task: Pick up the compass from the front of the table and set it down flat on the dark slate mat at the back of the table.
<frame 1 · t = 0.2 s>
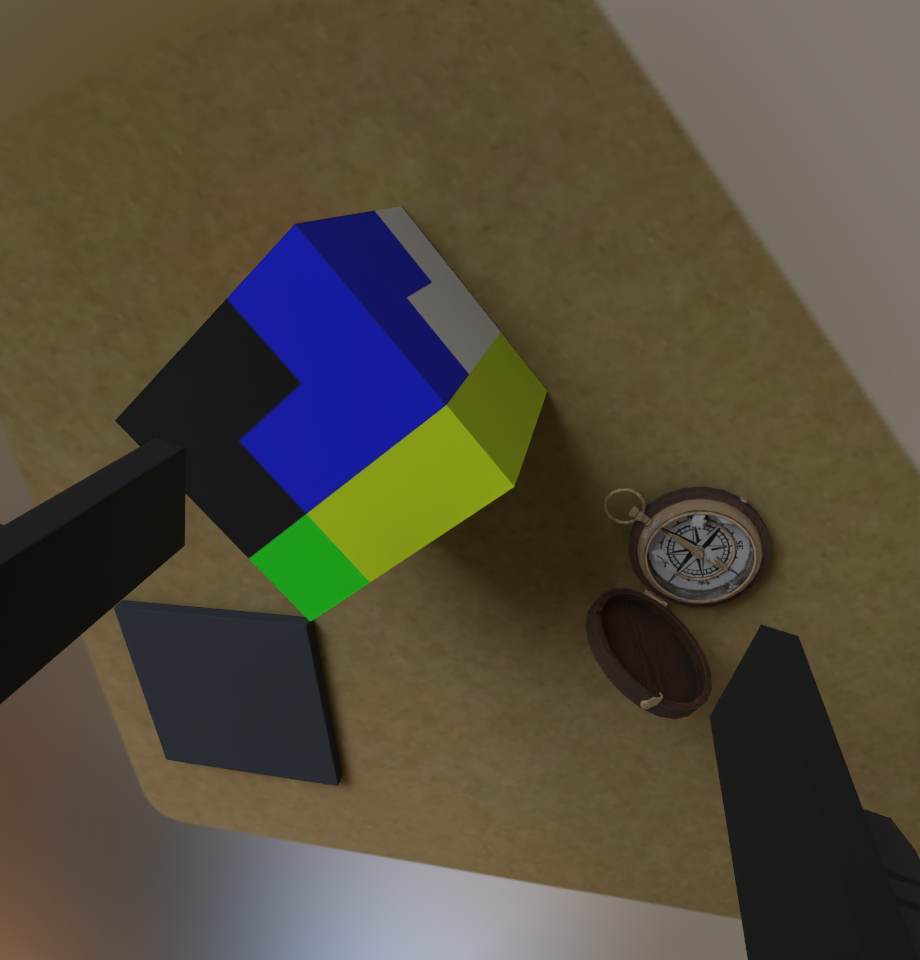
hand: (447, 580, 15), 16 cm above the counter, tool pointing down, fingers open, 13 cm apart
compass: (668, 541, 31), on the counter
mat: (235, 690, 42), on the counter
puzzle toy: (397, 368, 31), on the counter
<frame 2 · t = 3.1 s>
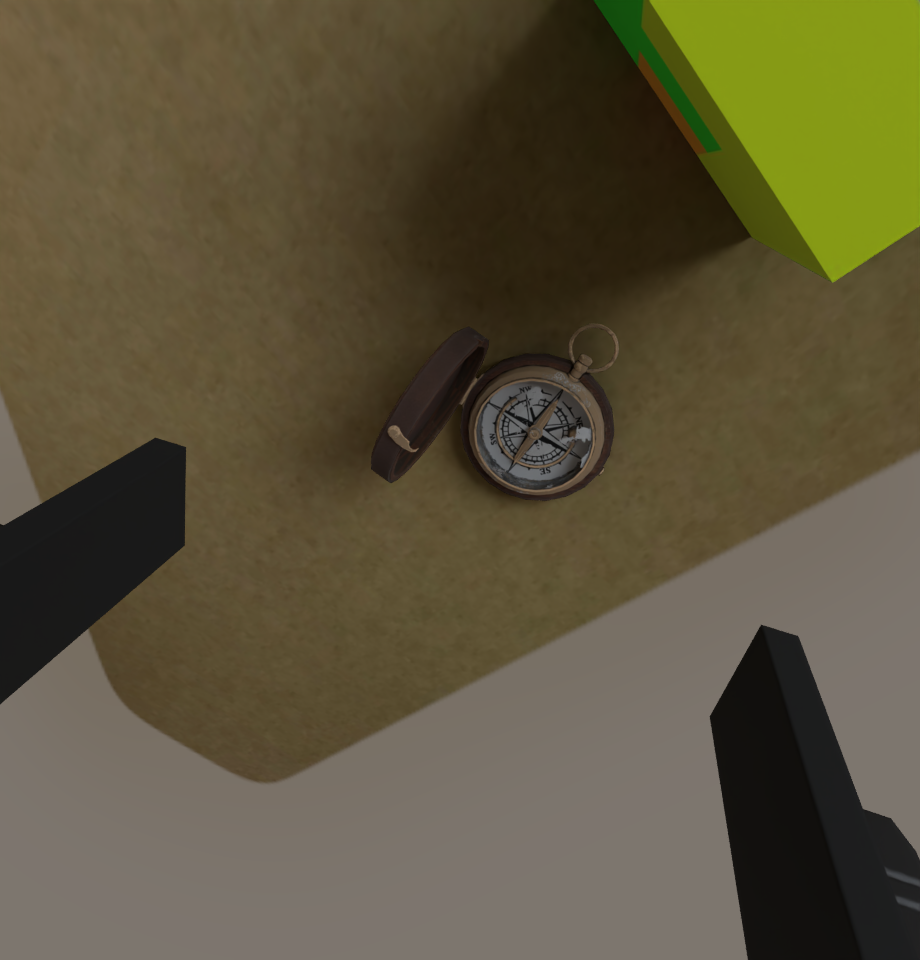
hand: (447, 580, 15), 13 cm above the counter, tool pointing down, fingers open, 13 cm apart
compass: (535, 394, 26), on the counter
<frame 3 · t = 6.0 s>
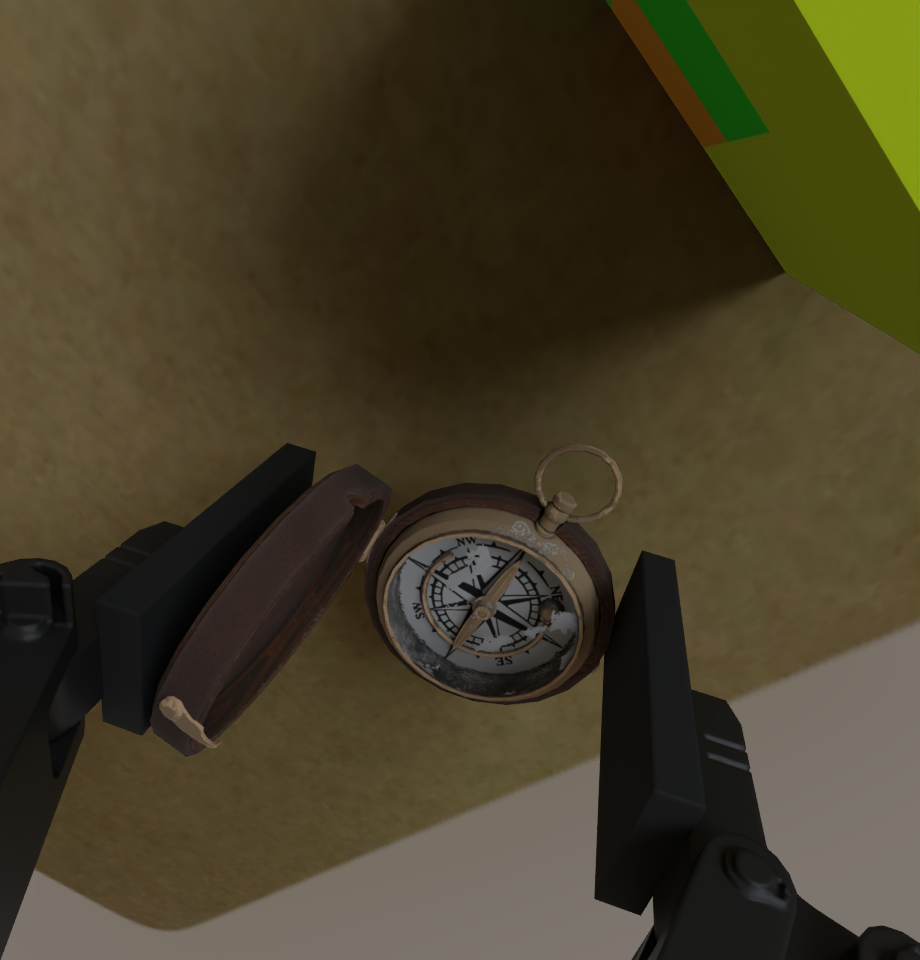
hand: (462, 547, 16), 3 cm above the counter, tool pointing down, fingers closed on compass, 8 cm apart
compass: (485, 540, 16), point 3 cm above the counter, touching gripper
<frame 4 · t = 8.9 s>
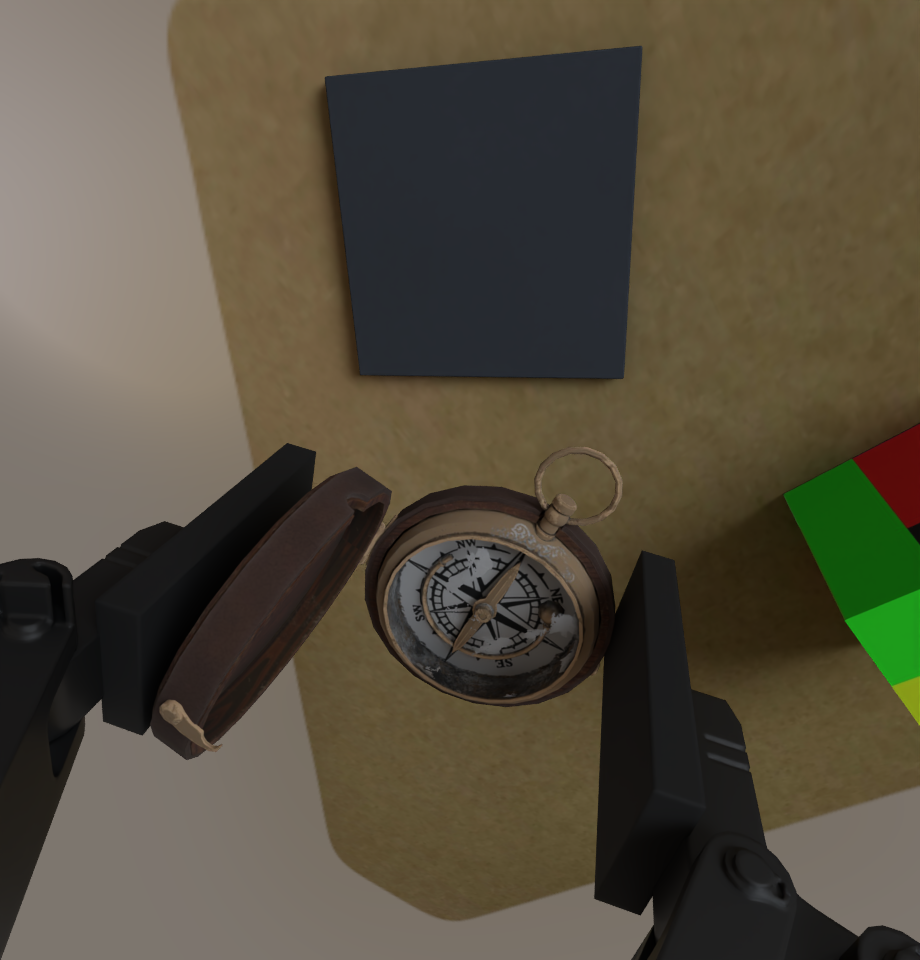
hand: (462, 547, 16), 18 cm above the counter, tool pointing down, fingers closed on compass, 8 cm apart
compass: (485, 542, 16), point 17 cm above the counter, touching gripper
mat: (483, 232, 29), on the counter
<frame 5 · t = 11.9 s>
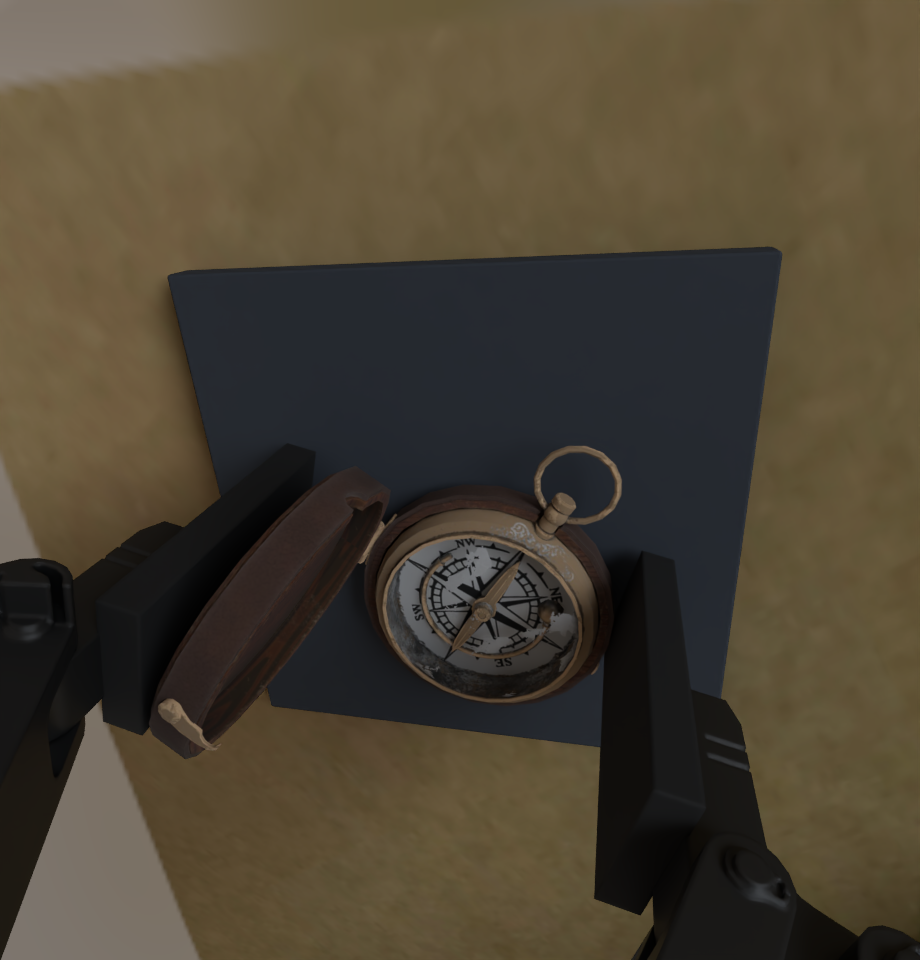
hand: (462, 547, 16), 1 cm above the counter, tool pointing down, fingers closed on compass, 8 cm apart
compass: (484, 541, 16), point 1 cm above the counter, touching gripper
mat: (467, 522, 17), on the counter
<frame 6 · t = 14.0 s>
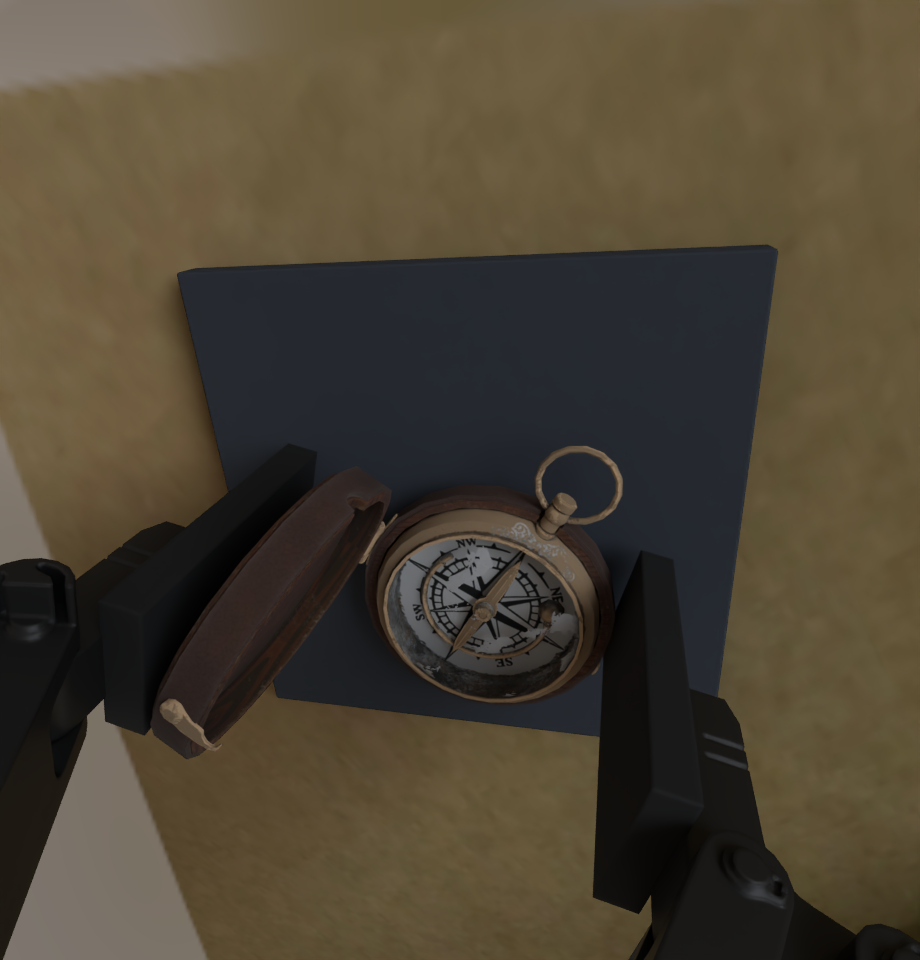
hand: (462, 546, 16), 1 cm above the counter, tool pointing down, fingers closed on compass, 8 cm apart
compass: (485, 541, 16), point 1 cm above the counter, touching gripper
mat: (470, 515, 17), on the counter
when the fingers open (1 cm above the counter, at t = 15.9 s): compass stays where it is, resting on mat.
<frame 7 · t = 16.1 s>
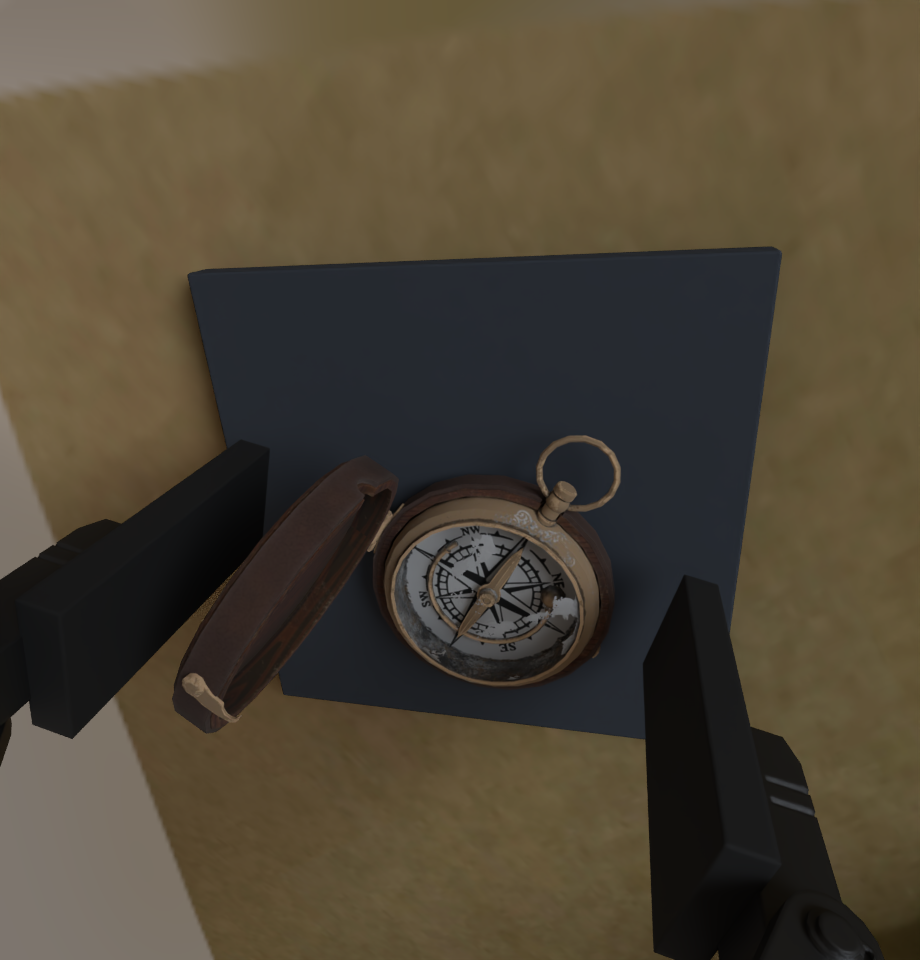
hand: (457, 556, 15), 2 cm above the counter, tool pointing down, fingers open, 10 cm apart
compass: (488, 530, 17), point 1 cm above the counter, touching mat
mat: (476, 514, 17), on the counter
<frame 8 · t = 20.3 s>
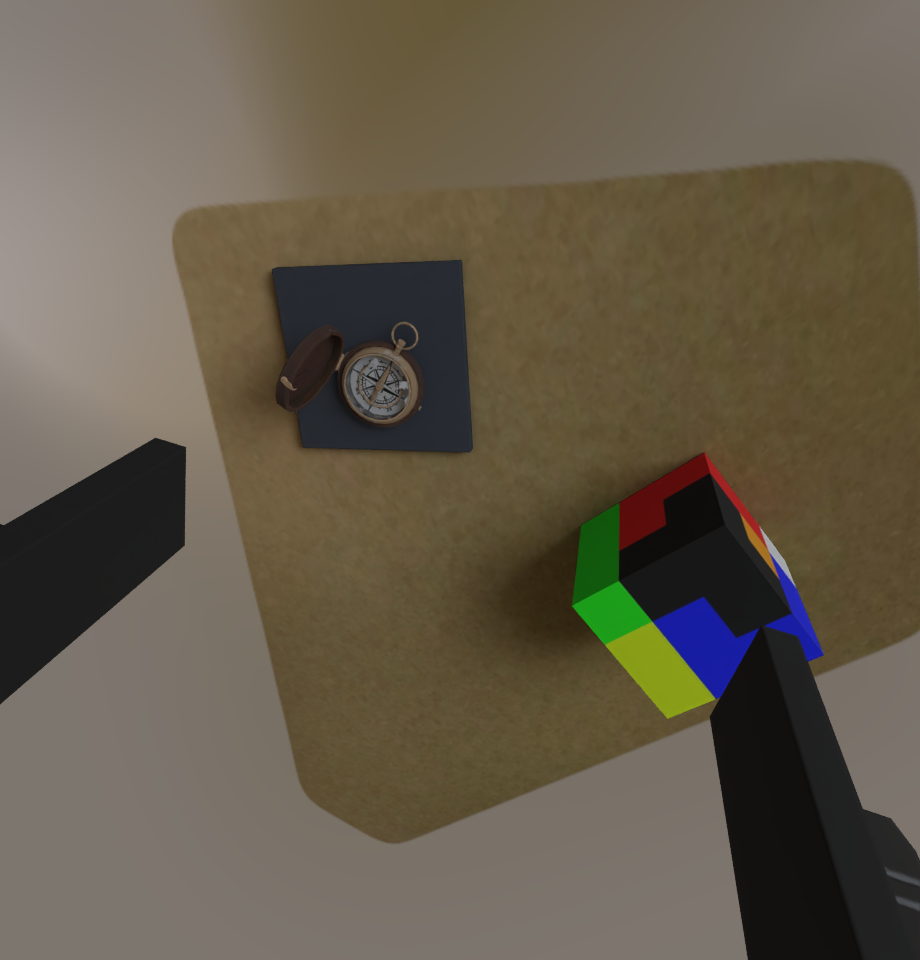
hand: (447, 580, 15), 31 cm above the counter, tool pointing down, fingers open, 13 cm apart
compass: (380, 364, 45), point 1 cm above the counter, touching mat
mat: (377, 360, 46), on the counter
puzzle toy: (680, 541, 47), on the counter
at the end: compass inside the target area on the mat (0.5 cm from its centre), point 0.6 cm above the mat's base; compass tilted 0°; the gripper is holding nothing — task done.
